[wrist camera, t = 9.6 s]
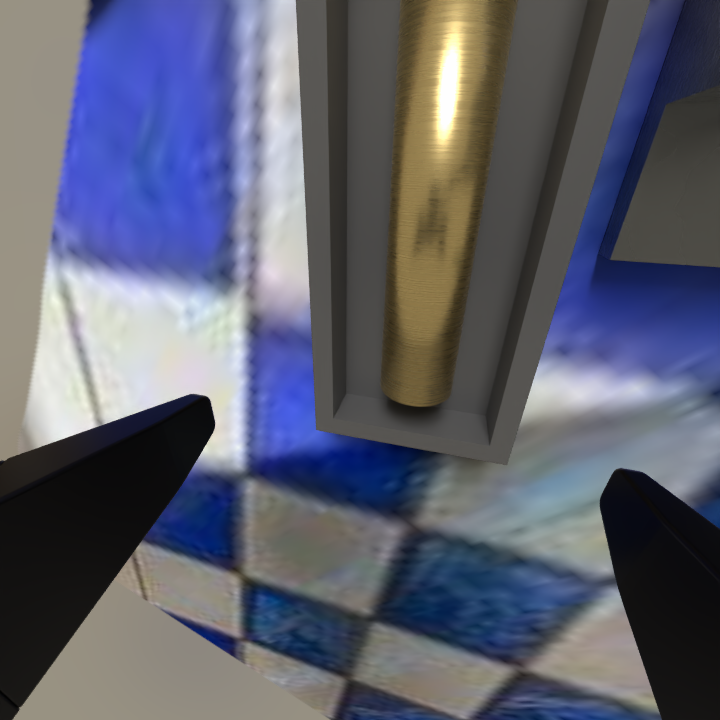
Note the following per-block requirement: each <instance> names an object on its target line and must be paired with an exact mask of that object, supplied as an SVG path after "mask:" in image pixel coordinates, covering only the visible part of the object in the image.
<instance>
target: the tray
mask: <svg viewBox="0 0 720 720" xmlns="http://www.w3.org/2000/svg"><path fill="white" fill-rule="evenodd" d="M649 3H650V0H518V4H517V9H516V15H515V21H514V27H513V33H512V39H511V45H510V51H509V56H508V62H507V68H506V74H505V80H504V86H503V92H502V98H501V103H500V109H499V115H498V121H497V127H496V133H495V139H494V145H493V150H492V156H491V162H490V168H489V174H488V180H487V186H486V192H485V198H484V203H483V209H482V215H481V221H480V227H479V233H478V239H477V245H476V250H475V256H474V262H473V268H472V274H471V280H470V286H469V292H468V297H467V303H466V309H465V315H464V321H463V327H462V333H461V339H460V344H459V350H458V356H457V362H456V368H455V374H454V380H453V386H452V392H451V395H450V397H449V398H448V399H447V400H446V401H444V402H442V403H440V404H437V405H433V406H425V407H418V406H410V405H405V404H402V403H399V402H396V401H394V400H392V399H391V398H389V397H388V396H387V395H385V394H384V392H383V391H382V389H381V386H380V380H381V361H382V342H383V323H384V304H385V285H386V266H387V246H388V227H389V208H390V189H391V170H392V151H393V132H394V113H395V94H396V75H397V56H398V37H399V18H400V0H296V12H297V34H298V55H299V76H300V97H301V118H302V139H303V161H304V182H305V203H306V224H307V245H308V266H309V288H310V309H311V330H312V351H313V372H314V393H315V415H316V430H319V431H324V432H329V433H335V434H340V435H346V436H351V437H357V438H362V439H368V440H373V441H378V442H384V443H389V444H395V445H400V446H406V447H411V448H416V449H422V450H427V451H433V452H438V453H444V454H449V455H455V456H460V457H465V458H471V459H476V460H482V461H487V462H493V463H498V464H503V465H507V463H508V460H509V457H510V454H511V450H512V447H513V444H514V441H515V437H516V434H517V431H518V428H519V424H520V421H521V418H522V415H523V411H524V408H525V405H526V402H527V399H528V395H529V392H530V389H531V386H532V382H533V379H534V376H535V373H536V369H537V366H538V363H539V360H540V356H541V353H542V350H543V347H544V343H545V340H546V337H547V334H548V330H549V327H550V324H551V321H552V317H553V314H554V311H555V308H556V304H557V301H558V298H559V295H560V291H561V288H562V285H563V282H564V278H565V275H566V272H567V269H568V265H569V262H570V259H571V256H572V252H573V249H574V246H575V243H576V240H577V236H578V233H579V230H580V227H581V223H582V220H583V217H584V214H585V210H586V207H587V204H588V201H589V197H590V194H591V191H592V188H593V184H594V181H595V178H596V175H597V171H598V168H599V165H600V162H601V158H602V155H603V152H604V149H605V145H606V142H607V139H608V136H609V132H610V129H611V126H612V123H613V119H614V116H615V113H616V110H617V106H618V103H619V100H620V97H621V94H622V90H623V87H624V84H625V81H626V77H627V74H628V71H629V68H630V64H631V61H632V58H633V55H634V51H635V48H636V45H637V42H638V38H639V35H640V32H641V29H642V25H643V22H644V19H645V16H646V12H647V9H648V6H649Z"/></svg>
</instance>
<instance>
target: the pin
mask: <svg viewBox="0 0 720 720" xmlns="http://www.w3.org/2000/svg"><path fill="white" fill-rule="evenodd" d="M517 4H518V0H400V18H399V37H398V56H397V75H396V94H395V113H394V132H393V151H392V170H391V189H390V208H389V227H388V246H387V266H386V285H385V304H384V323H383V342H382V361H381V380H380V386H381V389H382V391H383V392H384V394H385V395H387V396H388V397H389V398H391V399H392V400H394V401H396V402H399V403H402V404H405V405H410V406H418V407H425V406H433V405H437V404H440V403H442V402H444V401H446V400H447V399H448V398H449V397H450V395H451V392H452V386H453V380H454V374H455V368H456V362H457V356H458V350H459V344H460V339H461V333H462V327H463V321H464V315H465V309H466V303H467V297H468V292H469V286H470V280H471V274H472V268H473V262H474V256H475V250H476V245H477V239H478V233H479V227H480V221H481V215H482V209H483V203H484V198H485V192H486V186H487V180H488V174H489V168H490V162H491V156H492V150H493V145H494V139H495V133H496V127H497V121H498V115H499V109H500V103H501V98H502V92H503V86H504V80H505V74H506V68H507V62H508V56H509V51H510V45H511V39H512V33H513V27H514V21H515V15H516V9H517Z"/></svg>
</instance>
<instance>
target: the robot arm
mask: <svg viewBox="0 0 720 720" xmlns="http://www.w3.org/2000/svg"><path fill="white" fill-rule="evenodd" d="M214 429H215V419H214V415H213V410H212V406H211V401H210V399H209V398H208V397H207V396H203V395H198V394H189V395H186V396H184V397H181V398H178V399H175V400H172V401H169V402H167V403H164V404H161V405H158V406H155V407H152V408H150V409H147V410H144V411H141V412H138V413H135V414H133V415H130V416H127V417H124V418H121V419H118V420H116V421H113V422H110V423H107V424H104V425H101V426H99V427H96V428H93V429H90V430H87V431H84V432H82V433H79V434H76V435H73V436H70V437H67V438H65V439H62V440H59V441H56V442H53V443H50V444H48V445H45V446H42V447H39V448H36V449H33V450H31V451H28V452H25V453H22V454H19V455H16V456H14V457H11V458H8V459H7V460H6V461H0V720H12V719H13V718H14V717H15V715H16V714H17V713H18V711H19V707H21V706H22V705H23V704H24V702H25V701H26V700H27V698H28V697H29V696H30V694H31V693H32V691H33V690H34V689H35V687H36V686H37V685H38V683H39V682H40V680H41V679H42V678H43V676H44V675H45V674H46V672H47V671H48V669H49V668H50V667H51V665H52V664H53V662H54V661H55V660H56V658H57V657H58V656H59V654H60V653H61V651H62V650H63V649H64V647H65V646H66V645H67V643H68V642H69V640H70V639H71V638H72V636H73V635H74V633H75V632H76V631H77V629H78V628H79V627H80V625H81V624H82V623H83V621H84V620H85V618H86V617H87V616H88V614H89V613H90V611H91V610H92V609H93V607H94V606H95V604H96V603H97V601H98V600H99V599H100V598H101V596H102V595H103V593H104V592H105V591H106V589H107V588H108V587H109V585H110V584H111V583H112V581H113V580H114V578H115V577H116V576H117V574H118V573H119V571H120V570H121V569H122V567H123V566H124V565H125V563H126V562H127V560H128V559H129V558H130V556H131V555H132V554H133V552H134V551H135V549H136V548H137V547H138V545H139V544H140V543H141V541H142V540H143V538H144V537H145V536H146V534H147V533H148V531H149V530H150V529H151V527H152V526H153V525H154V523H155V522H156V520H157V519H158V518H159V516H160V515H161V514H162V512H163V511H164V509H165V508H166V507H167V505H168V504H169V503H170V501H171V500H172V498H173V497H174V496H175V494H176V493H177V491H178V490H179V488H180V487H181V486H182V484H183V482H184V481H185V479H186V478H187V476H188V474H189V473H190V471H191V469H192V468H193V466H194V464H195V462H196V461H197V459H198V457H199V456H200V454H201V452H202V451H203V449H204V447H205V445H206V444H207V442H208V440H209V439H210V437H211V435H212V434H213V431H214ZM600 511H601V515H602V520H603V524H604V529H605V533H606V538H607V542H608V547H609V551H610V556H611V560H612V565H613V569H614V574H615V578H616V582H617V586H618V589H619V592H620V596H621V599H622V602H623V605H624V608H625V611H626V614H627V617H628V620H629V623H630V626H631V629H632V632H633V635H634V638H635V641H636V644H637V647H638V650H639V653H640V656H641V659H642V662H643V665H644V668H645V671H646V674H647V676H648V679H649V682H650V685H651V688H652V691H653V694H654V697H655V700H656V703H657V706H658V709H659V712H660V715H661V718H662V720H720V529H719V528H718V527H716V526H715V525H714V524H712V523H711V522H710V521H708V520H707V519H706V518H704V517H703V516H702V515H700V514H699V513H698V512H696V511H695V510H694V509H692V508H691V507H689V506H688V505H687V504H685V503H684V502H683V501H681V500H680V499H679V498H677V497H676V496H675V495H673V494H672V493H671V492H669V491H668V490H667V489H665V488H664V487H663V486H661V485H660V484H658V483H657V482H656V481H654V480H653V479H652V478H650V477H649V476H648V475H646V474H645V473H643V472H640V471H635V470H629V469H624V468H619V469H616V470H615V471H614V472H613V474H612V475H611V477H610V479H609V481H608V483H607V485H606V487H605V489H604V491H603V493H602V495H601V498H600Z"/></svg>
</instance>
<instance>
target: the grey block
mask: <svg viewBox="0 0 720 720" xmlns="http://www.w3.org/2000/svg"><path fill="white" fill-rule="evenodd" d="M599 255H601V256H603V257H605V258H607V259H609V260H618V261H633V262H648V263H663V264H678V265H693V266H708V267H720V0H686V1H685V4H684V7H683V10H682V13H681V16H680V19H679V21H678V24H677V27H676V30H675V33H674V36H673V39H672V42H671V45H670V48H669V51H668V53H667V56H666V59H665V62H664V65H663V68H662V71H661V74H660V77H659V80H658V83H657V85H656V88H655V91H654V94H653V97H652V100H651V103H650V106H649V109H648V112H647V115H646V117H645V120H644V123H643V126H642V129H641V132H640V135H639V138H638V141H637V144H636V147H635V149H634V152H633V155H632V158H631V161H630V164H629V167H628V170H627V173H626V176H625V179H624V181H623V184H622V187H621V190H620V193H619V196H618V199H617V202H616V205H615V208H614V210H613V213H612V216H611V219H610V222H609V225H608V228H607V231H606V234H605V237H604V240H603V242H602V245H601V248H600V251H599Z"/></svg>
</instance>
